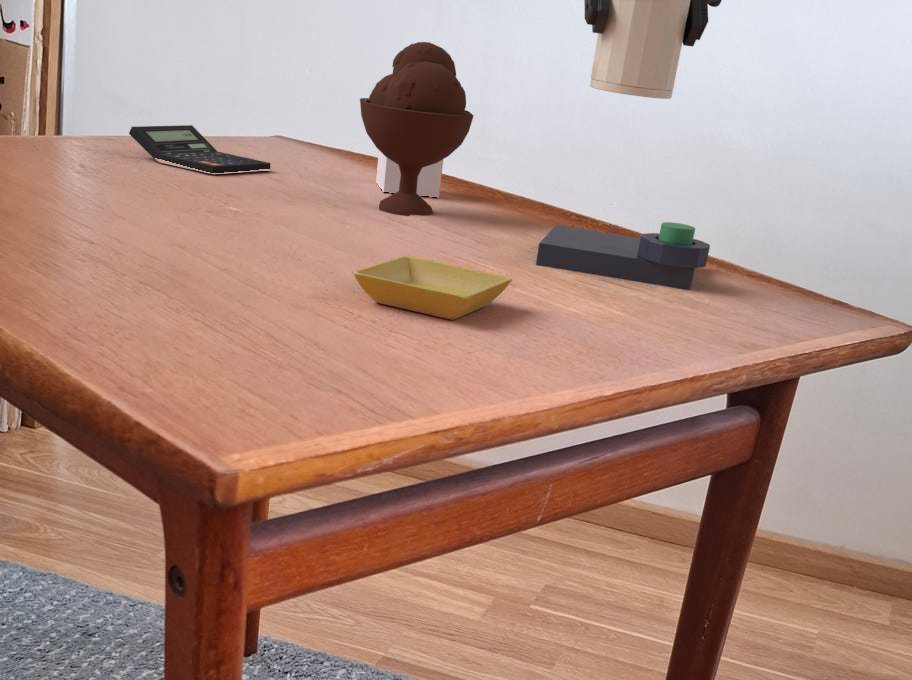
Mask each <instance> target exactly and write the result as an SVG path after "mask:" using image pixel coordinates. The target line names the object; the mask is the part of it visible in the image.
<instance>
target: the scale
mask: <svg viewBox="0 0 912 680" xmlns="http://www.w3.org/2000/svg"><path fill="white" fill-rule="evenodd" d="M659 234H660V232H651V233H650V232H649V233H642V234H641V235H640V237H635V236H629V235H623V234H616V233H610V232H605V231H604V232H603V231H598V230H591V229H587V228H586V229H585V228H579V227H572V226H566V225H561V224H560V225H559V224H555V226H553V228H551V230H550V231H549V232H548V233H547V234H546V235H545V236H544V237H543V239H541V241H539V244H538V248H537V253H536V260H535V266H538V267H545V268H551V269H558V270H562V271H563V270H565V271H571V272H574V273H575V272H576V273H580V274H581V273H583V274H587V275H594V276H601V277H607V278H612V279H613V278H614V279H618V280H624V281H631V282H636V283H637V282H638V283H641V284H642V283H643V284H648V285H649V284H650V285H656V286H661V287H666V288H667V287H668V288H673V289H680V290H684V291H685V290H686V291H691V288H692V284H693V279H694V273H695V269H699V268H705V267H706V266H707V262H708V258H709V253H710V247H711V244H709V243H707V242H705V241H703V240H700V239H695V238H693V243H692V245H682V244H675V243H668V242H664V241H660V240H658V239H659Z"/></svg>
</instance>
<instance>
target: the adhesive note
mask: <svg viewBox="0 0 912 680" xmlns="http://www.w3.org/2000/svg"><path fill="white" fill-rule="evenodd" d="M377 155H378V156H377V166H376V176H375V177H376V179H375V184H376V183H377V184H378V185H379V187H380V188H381V189H382V190H383V192H389V193H388V194H391V193H396V192H398V191H399V185H400V178H401V173H400V169H399V165H398V164H396V163H395V162H393V161H392V160H390V159H388V158H387V157H386V156H385V155H384V154H383V153H382V152H381V151H379V150H378V154H377ZM443 166H444V159H443V160H441V161H439V162H438V163H435V164H432V165H429V166H426V167H423V168H422V169H421V171H420V173H419V175H418V180H417V194H418V195H419V196H420V197H421V196H429V197H428V198H432V197H437V198H436V199H440V194H441V193H440V192H441V184H442V176H443ZM379 187H378V188H379ZM380 188H379V189H380ZM381 189H380V190H381ZM383 192H382V193H383ZM390 192H391V193H390Z"/></svg>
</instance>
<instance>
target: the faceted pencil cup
mask: <svg viewBox="0 0 912 680" xmlns="http://www.w3.org/2000/svg"><path fill="white" fill-rule="evenodd" d="M690 3H691V0H609V16H608V20H607V22H606V25H605V28H604V30H603V33H602V34H599V33H597V36H596V37H597V38H596V42H595V43H596V44H595V48H594V49H595V50H594V55H593V61H592V62H593V63H592V67H591V74H590V83H589V87H590V88H592V89H595V90H599V91H604V92H609V93H613V94H622V95H627V96H635V97H643V98H648V99H649V98H650V99H661V100H670V99H671V100H672V98H673V92H674V88H675V84H676V79H677V73H678V68H679V63H680V59H681V54H682V53H681V52H682V48H683V38H684V33H685V28H686V23H687V18H688V13H689V8H690Z"/></svg>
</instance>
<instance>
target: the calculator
mask: <svg viewBox="0 0 912 680" xmlns="http://www.w3.org/2000/svg"><path fill="white" fill-rule="evenodd" d="M128 135H129V136H131V138H133V139H134V141H136V143H137V144H139V146H141V147H142V149H144V150H145V151H146V153H148V155H150V157H151V158H152V159H154V158H157V159H162V160H165V161H169V162H172V163H176V164H180V165H183V166H187V167H190V168H195V169H198V170H202V171H206V172H210V173H224V172H238V171H250V170H259V169H270V170H271V162H269V161H263V160H259V159H254V158H250V157H246V156H245V157H244V156H240V155H237V154H236V155H235V154H230V153H227V152H221V151H218V150H217V149H216V148H215V147H214V145H212V144H211V143H210V142H209V141H208V140H207V139H206V138H205V137H204V135H202V134H201V133H200V132H199V131H198V130H197V128H195V127H194V126H193V125H192V124H191V125H190V124H189V125H187V124H184V125H148V126H147V125H145V126H144V125H143V126H142V125H141V126H131V127H130V129H129V132H128Z"/></svg>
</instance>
